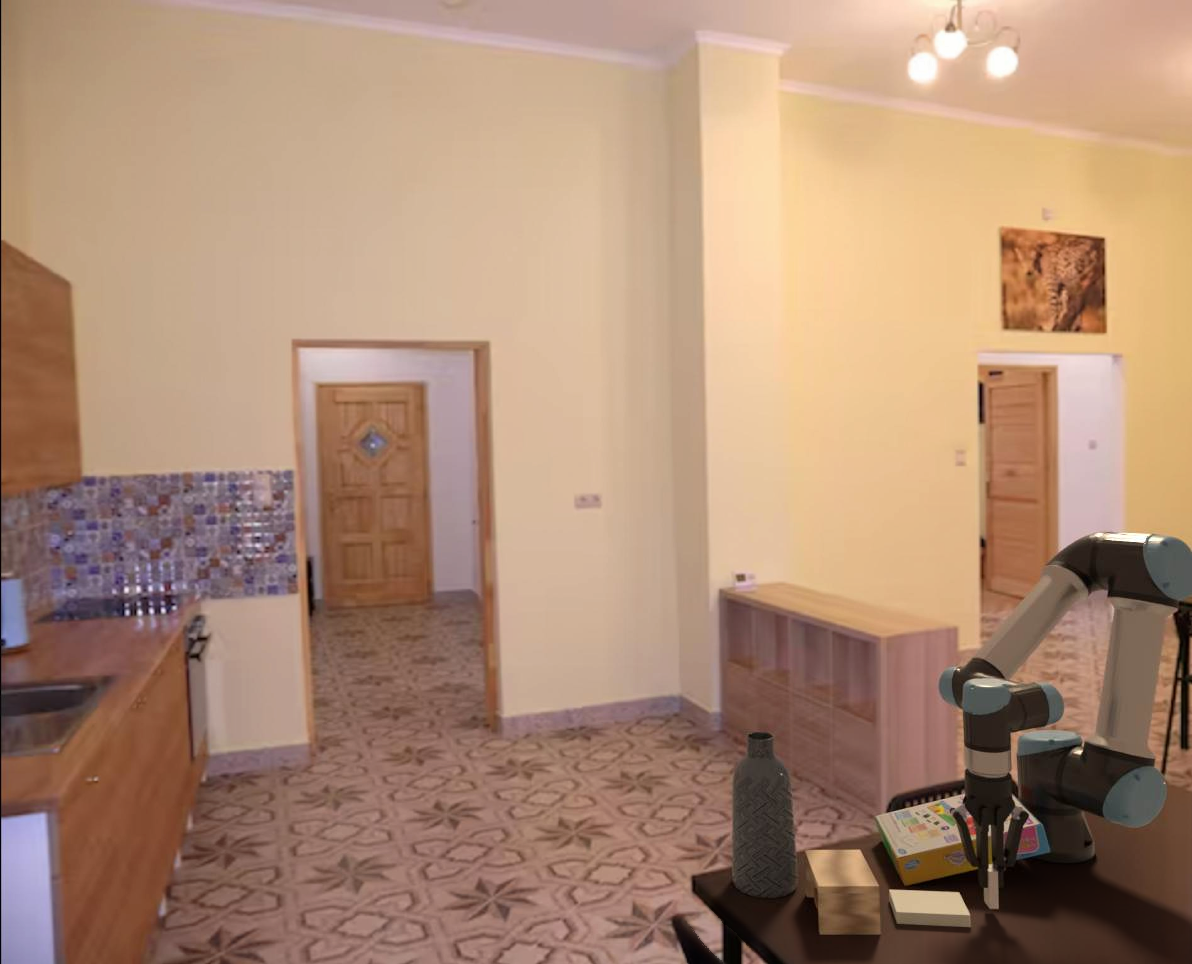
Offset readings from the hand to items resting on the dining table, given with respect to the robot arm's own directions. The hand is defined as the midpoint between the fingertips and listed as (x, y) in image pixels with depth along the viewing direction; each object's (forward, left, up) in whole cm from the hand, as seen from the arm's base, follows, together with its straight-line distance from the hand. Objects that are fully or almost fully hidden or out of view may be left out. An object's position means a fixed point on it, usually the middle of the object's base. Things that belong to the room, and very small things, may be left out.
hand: (991, 904), depth 154 cm
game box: (+13, -20, +1) cm, 24 cm away
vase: (+38, -11, -2) cm, 39 cm away
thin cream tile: (+11, 0, -2) cm, 11 cm away
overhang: (+26, 0, -1) cm, 26 cm away
